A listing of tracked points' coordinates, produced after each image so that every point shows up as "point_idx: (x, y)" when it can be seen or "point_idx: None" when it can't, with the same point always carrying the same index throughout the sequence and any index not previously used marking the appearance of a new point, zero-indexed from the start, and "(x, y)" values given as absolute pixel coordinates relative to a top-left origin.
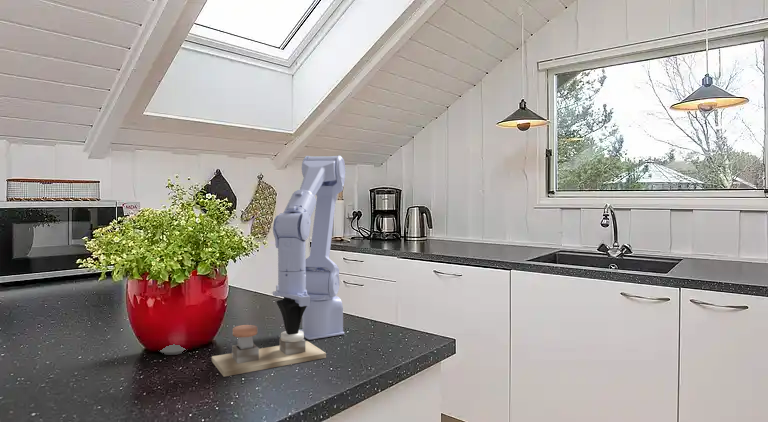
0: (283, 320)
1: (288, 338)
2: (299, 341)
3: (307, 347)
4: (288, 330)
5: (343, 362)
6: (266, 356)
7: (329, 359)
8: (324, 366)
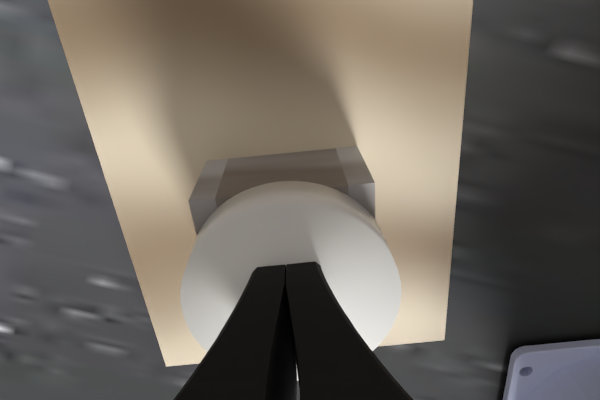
0: (356, 335)
1: (199, 241)
2: None
3: None
4: (243, 292)
5: (76, 389)
6: (232, 6)
7: (143, 352)
8: (33, 306)
